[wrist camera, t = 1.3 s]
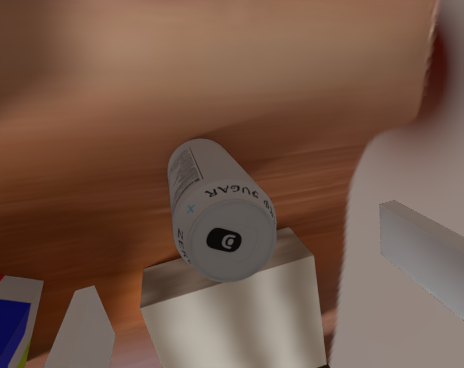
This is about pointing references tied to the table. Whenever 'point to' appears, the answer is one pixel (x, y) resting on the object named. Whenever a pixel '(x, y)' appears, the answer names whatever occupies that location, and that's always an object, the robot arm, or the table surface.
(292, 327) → the silver flat block
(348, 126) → the table surface
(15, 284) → the puzzle toy
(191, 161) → the energy drink can
